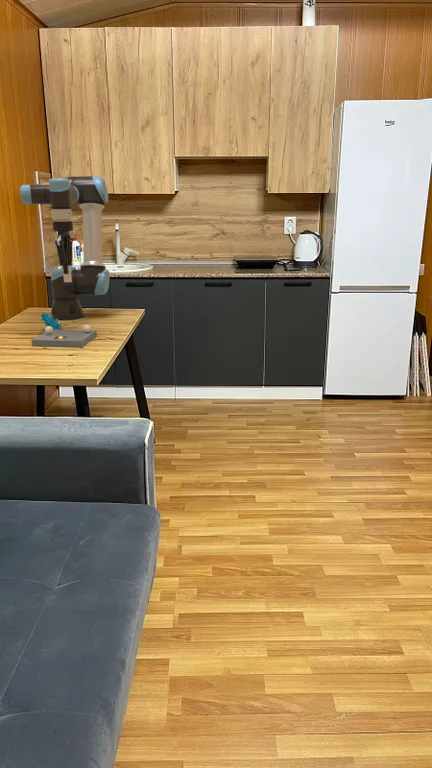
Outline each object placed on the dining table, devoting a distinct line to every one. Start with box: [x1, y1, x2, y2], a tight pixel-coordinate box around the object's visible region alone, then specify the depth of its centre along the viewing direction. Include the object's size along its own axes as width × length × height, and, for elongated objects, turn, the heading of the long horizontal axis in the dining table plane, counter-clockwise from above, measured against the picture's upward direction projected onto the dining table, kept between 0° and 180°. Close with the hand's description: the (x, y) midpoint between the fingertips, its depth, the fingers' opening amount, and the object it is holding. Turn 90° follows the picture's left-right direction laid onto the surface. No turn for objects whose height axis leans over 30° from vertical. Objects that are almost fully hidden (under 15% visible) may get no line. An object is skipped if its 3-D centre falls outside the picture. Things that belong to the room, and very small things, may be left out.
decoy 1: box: [44, 326, 53, 334], centre depth 225 cm, size 3×3×3 cm
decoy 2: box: [82, 324, 92, 333], centre depth 227 cm, size 3×3×3 cm
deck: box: [30, 329, 98, 348], centre depth 224 cm, size 18×20×2 cm
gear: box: [40, 312, 62, 331], centre depth 243 cm, size 11×6×10 cm
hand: (67, 281), depth 225 cm, fingers closed
